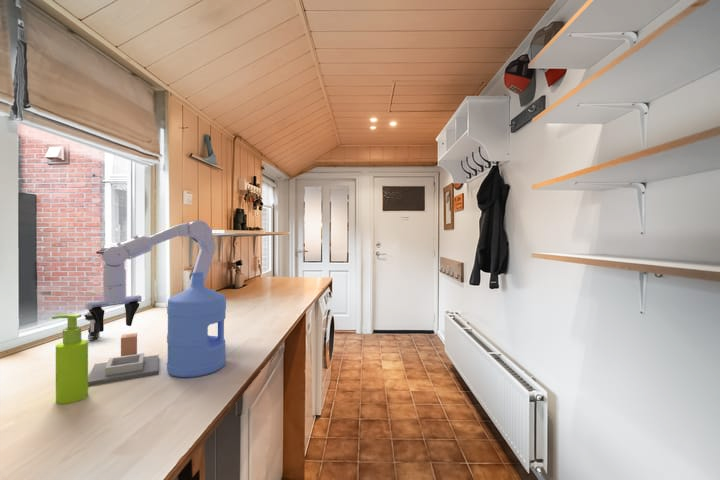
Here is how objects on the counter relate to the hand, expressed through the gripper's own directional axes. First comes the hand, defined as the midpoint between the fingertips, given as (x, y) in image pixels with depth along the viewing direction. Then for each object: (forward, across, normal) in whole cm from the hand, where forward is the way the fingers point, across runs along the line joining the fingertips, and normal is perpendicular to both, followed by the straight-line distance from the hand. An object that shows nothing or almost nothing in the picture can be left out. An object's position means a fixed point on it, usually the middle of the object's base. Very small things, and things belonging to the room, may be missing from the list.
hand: (115, 328), depth 107 cm
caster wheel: (+10, -4, -28) cm, 30 cm away
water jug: (+10, -10, +28) cm, 31 cm away
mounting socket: (+10, +2, +13) cm, 17 cm away
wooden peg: (+10, -3, +3) cm, 10 cm away
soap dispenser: (+10, +17, +21) cm, 29 cm away
